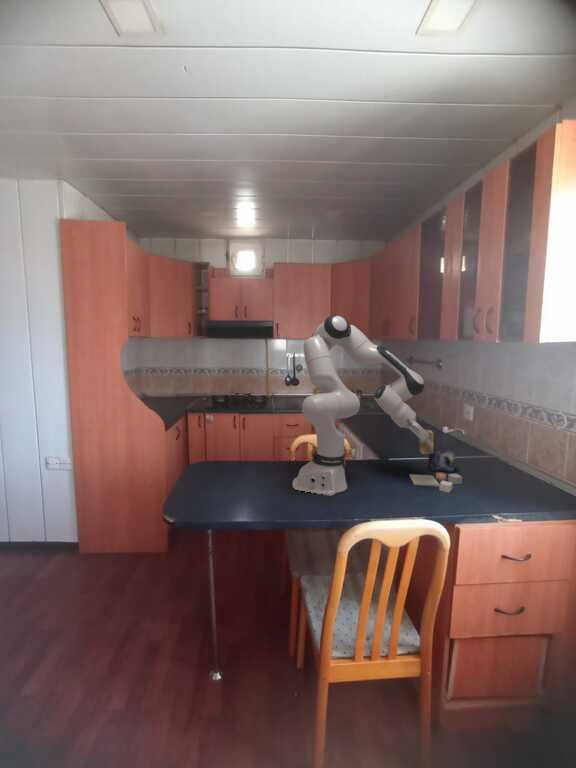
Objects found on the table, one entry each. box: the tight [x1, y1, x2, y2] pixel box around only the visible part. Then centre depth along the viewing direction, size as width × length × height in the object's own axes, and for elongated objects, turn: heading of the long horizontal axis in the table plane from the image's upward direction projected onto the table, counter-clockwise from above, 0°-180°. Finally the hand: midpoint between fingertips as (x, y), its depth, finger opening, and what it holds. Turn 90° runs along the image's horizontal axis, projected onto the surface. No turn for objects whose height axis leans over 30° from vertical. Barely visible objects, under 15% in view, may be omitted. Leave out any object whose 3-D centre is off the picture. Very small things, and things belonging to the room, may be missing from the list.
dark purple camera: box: [427, 445, 456, 474], centre depth 169 cm, size 11×6×10 cm, turn 76°
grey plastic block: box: [447, 473, 463, 485], centre depth 156 cm, size 4×4×3 cm
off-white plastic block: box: [438, 480, 454, 493], centre depth 148 cm, size 4×4×3 cm
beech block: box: [418, 429, 434, 455], centre depth 155 cm, size 4×4×9 cm
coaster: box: [409, 473, 440, 487], centre depth 157 cm, size 10×10×1 cm
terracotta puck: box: [435, 471, 447, 483], centre depth 158 cm, size 4×4×3 cm
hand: (427, 440), depth 154 cm, fingers closed on beech block, 5 cm apart
